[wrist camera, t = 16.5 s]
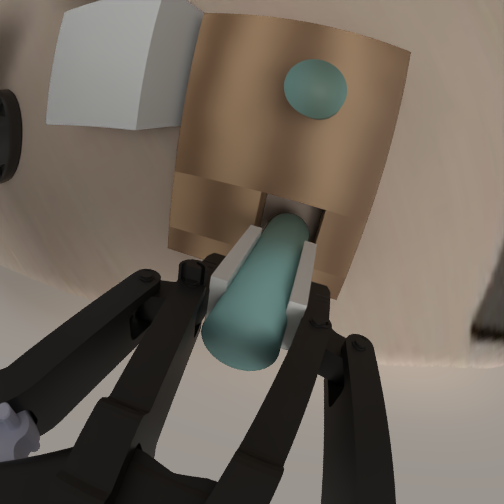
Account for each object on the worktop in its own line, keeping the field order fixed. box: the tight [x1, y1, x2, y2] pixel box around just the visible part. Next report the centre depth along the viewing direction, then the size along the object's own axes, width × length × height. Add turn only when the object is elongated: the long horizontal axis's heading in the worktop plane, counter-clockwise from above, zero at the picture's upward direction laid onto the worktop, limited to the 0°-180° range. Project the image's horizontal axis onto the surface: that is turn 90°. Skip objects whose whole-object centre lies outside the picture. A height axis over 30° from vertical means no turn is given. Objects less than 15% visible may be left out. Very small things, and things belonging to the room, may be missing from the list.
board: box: [168, 13, 411, 300], centre depth 18 cm, size 15×20×8 cm
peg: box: [201, 213, 309, 371], centre depth 16 cm, size 3×3×12 cm
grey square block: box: [46, 0, 204, 130], centre depth 18 cm, size 10×10×8 cm
